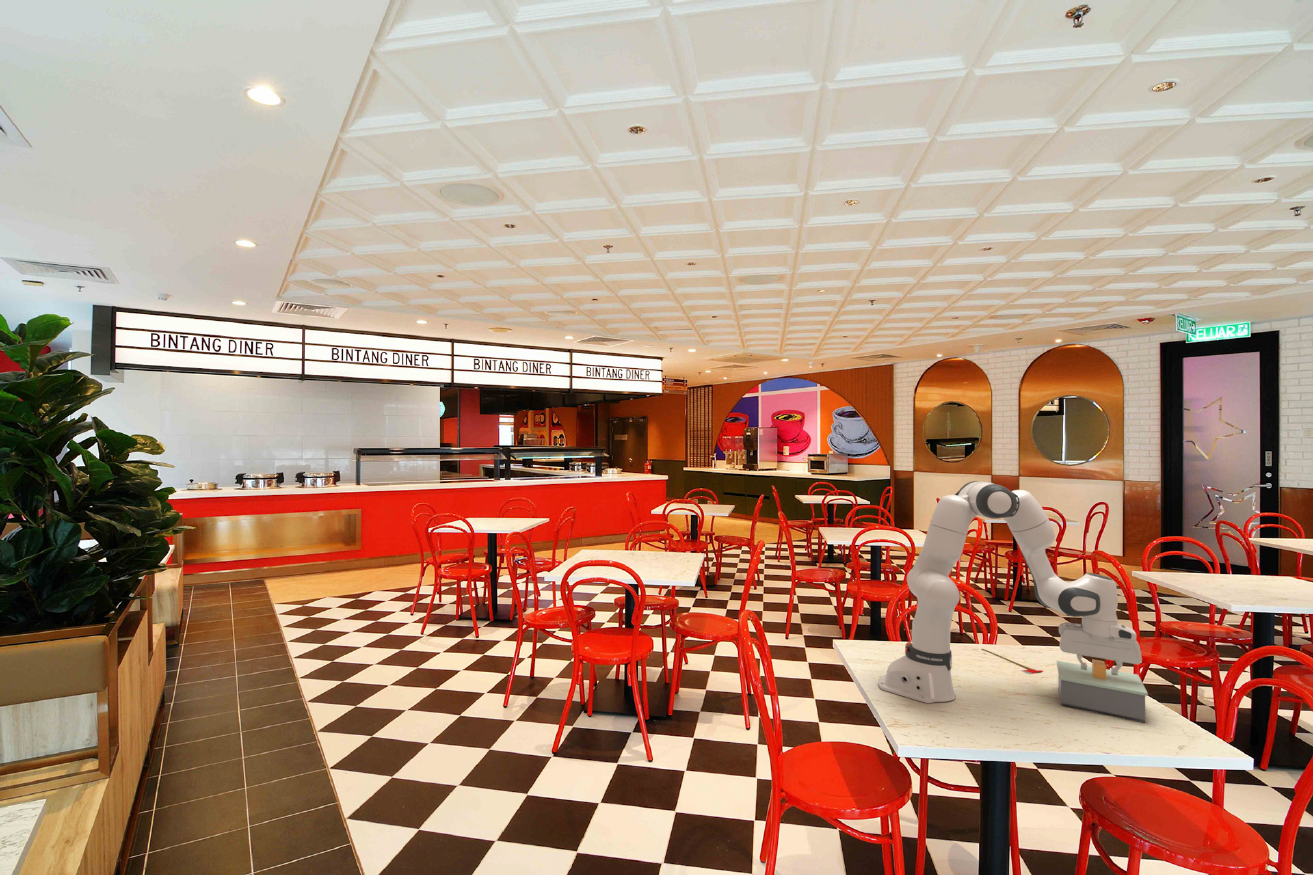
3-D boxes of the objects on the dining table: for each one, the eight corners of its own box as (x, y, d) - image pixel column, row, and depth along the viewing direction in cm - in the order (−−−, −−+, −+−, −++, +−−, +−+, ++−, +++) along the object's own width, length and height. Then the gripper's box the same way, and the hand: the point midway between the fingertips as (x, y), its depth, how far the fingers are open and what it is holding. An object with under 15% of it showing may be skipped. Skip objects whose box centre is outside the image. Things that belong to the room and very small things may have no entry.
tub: (1060, 705, 180) (1061, 679, 180) (1058, 688, 194) (1058, 663, 194) (1144, 722, 170) (1145, 694, 170) (1135, 703, 183) (1136, 677, 183)
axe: (1022, 675, 206) (1050, 675, 206) (1022, 672, 206) (1050, 673, 206) (979, 650, 231) (1004, 650, 231) (979, 648, 231) (1004, 648, 231)
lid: (1059, 684, 180) (1059, 663, 180) (1056, 667, 195) (1056, 648, 195) (1147, 701, 169) (1147, 679, 169) (1137, 681, 183) (1138, 661, 184)
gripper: (1059, 623, 185) (1058, 667, 185) (1142, 635, 174) (1142, 682, 174) (1058, 618, 190) (1057, 661, 190) (1139, 630, 179) (1138, 675, 179)
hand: (1098, 671), depth 182 cm, fingers open, 6 cm apart
